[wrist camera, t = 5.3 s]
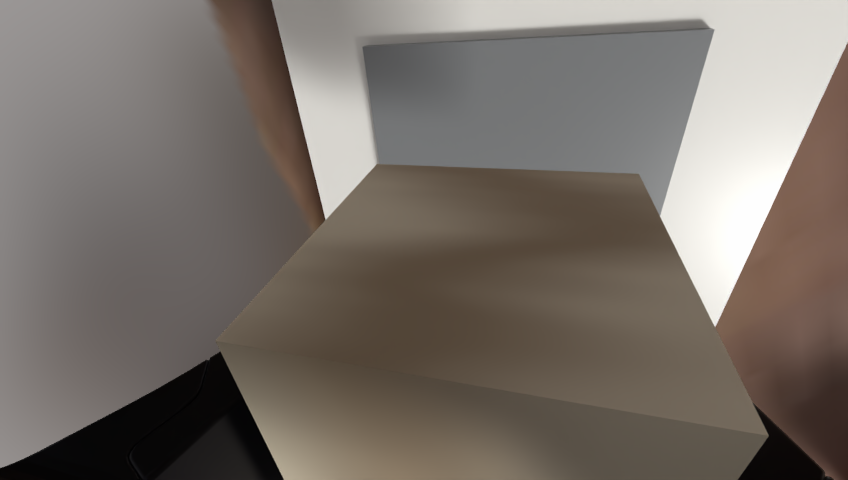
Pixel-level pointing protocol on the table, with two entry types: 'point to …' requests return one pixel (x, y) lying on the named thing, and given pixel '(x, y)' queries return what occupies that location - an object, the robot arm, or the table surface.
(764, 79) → the base
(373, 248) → the birch block
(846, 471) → the table surface
